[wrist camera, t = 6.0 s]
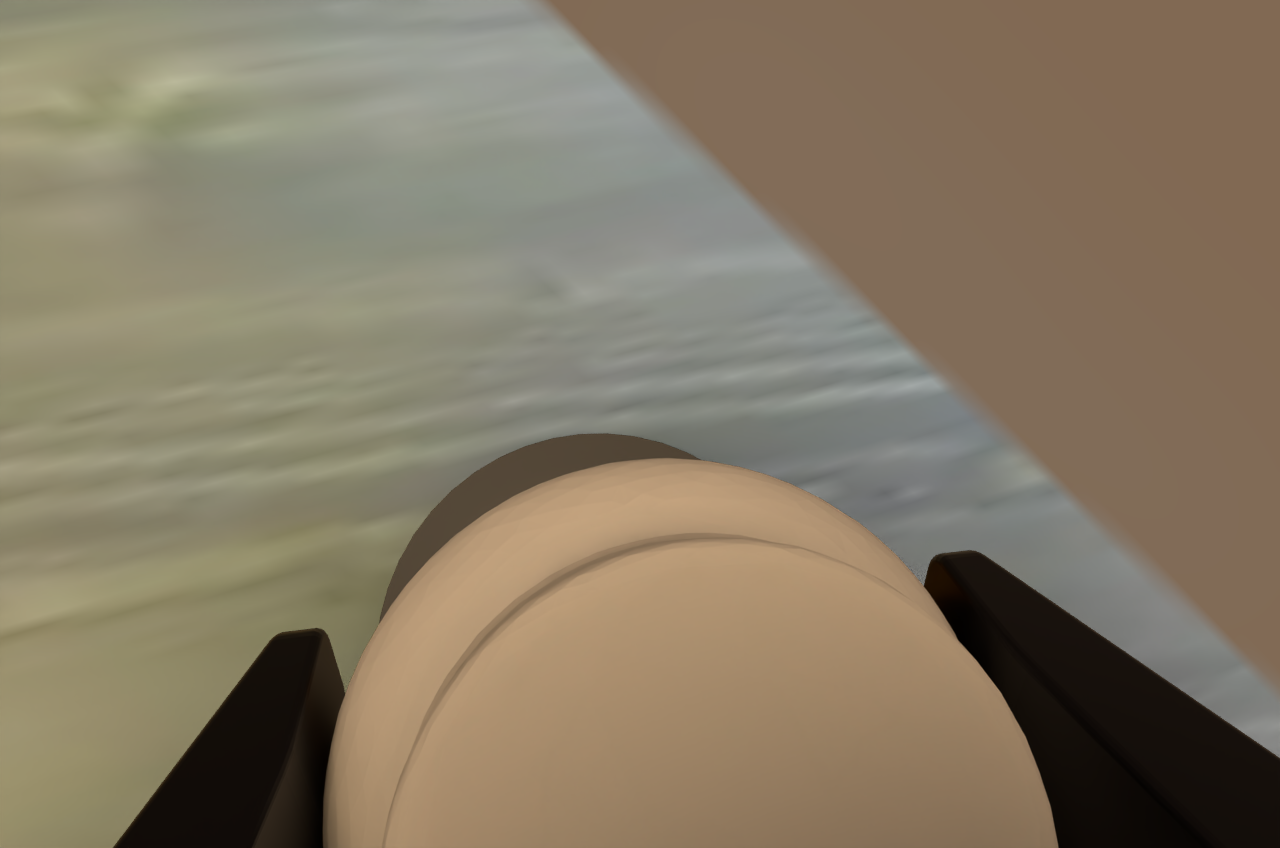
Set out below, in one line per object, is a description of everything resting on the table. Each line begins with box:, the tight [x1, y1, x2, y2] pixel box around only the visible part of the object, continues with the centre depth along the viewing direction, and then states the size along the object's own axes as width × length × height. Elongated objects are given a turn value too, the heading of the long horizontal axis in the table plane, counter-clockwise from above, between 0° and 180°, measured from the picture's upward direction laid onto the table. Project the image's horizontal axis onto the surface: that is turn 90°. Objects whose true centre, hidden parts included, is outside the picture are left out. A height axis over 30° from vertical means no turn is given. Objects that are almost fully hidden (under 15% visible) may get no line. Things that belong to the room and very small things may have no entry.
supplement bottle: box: [323, 458, 1059, 848], centre depth 10 cm, size 6×6×10 cm
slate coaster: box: [379, 434, 700, 624], centre depth 19 cm, size 9×9×1 cm
